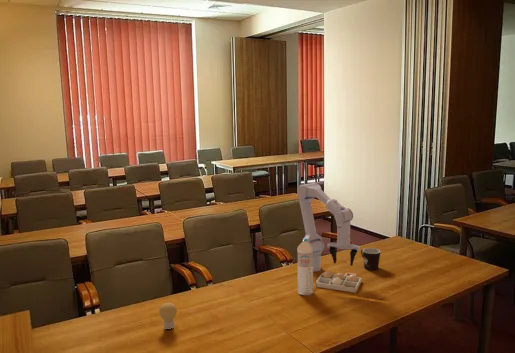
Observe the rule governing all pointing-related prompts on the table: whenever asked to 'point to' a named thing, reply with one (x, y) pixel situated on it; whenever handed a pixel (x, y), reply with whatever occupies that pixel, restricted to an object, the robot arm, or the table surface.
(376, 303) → the table surface
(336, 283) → the white rounded ball
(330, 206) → the robot arm
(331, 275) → the carton
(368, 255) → the coffee mug
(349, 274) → the egg cup
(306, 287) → the water bottle
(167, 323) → the light bulb
